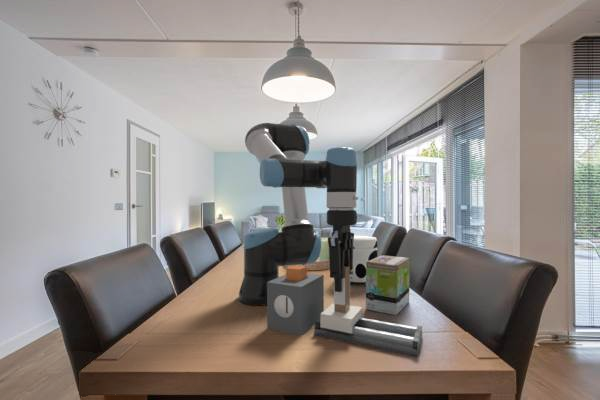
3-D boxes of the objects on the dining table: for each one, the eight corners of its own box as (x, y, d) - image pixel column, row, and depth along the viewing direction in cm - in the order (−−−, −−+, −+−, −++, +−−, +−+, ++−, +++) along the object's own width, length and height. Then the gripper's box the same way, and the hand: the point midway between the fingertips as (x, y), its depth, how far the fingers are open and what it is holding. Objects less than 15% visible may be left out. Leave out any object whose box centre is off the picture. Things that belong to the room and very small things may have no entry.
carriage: (320, 327, 76) (320, 269, 76) (333, 314, 84) (333, 262, 84) (351, 333, 72) (351, 272, 73) (362, 319, 81) (362, 265, 81)
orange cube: (286, 282, 83) (286, 268, 84) (293, 279, 87) (293, 265, 87) (300, 284, 82) (299, 269, 82) (306, 281, 85) (306, 266, 85)
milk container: (328, 281, 127) (327, 237, 127) (354, 274, 139) (353, 234, 139) (362, 290, 115) (362, 241, 115) (388, 281, 126) (388, 237, 126)
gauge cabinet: (266, 328, 80) (266, 282, 80) (293, 311, 93) (292, 271, 93) (300, 336, 76) (300, 287, 76) (323, 316, 88) (323, 274, 88)
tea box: (398, 316, 89) (398, 264, 89) (364, 310, 94) (364, 261, 94) (410, 301, 101) (410, 256, 101) (380, 296, 107) (379, 253, 107)
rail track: (314, 334, 76) (314, 322, 76) (329, 320, 85) (329, 309, 85) (417, 356, 65) (417, 342, 65) (422, 338, 74) (422, 325, 74)
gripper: (345, 210, 70) (345, 314, 70) (364, 208, 84) (365, 295, 84) (315, 210, 73) (315, 309, 73) (338, 208, 87) (339, 291, 87)
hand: (342, 301), depth 78 cm, fingers closed on carriage, 3 cm apart
